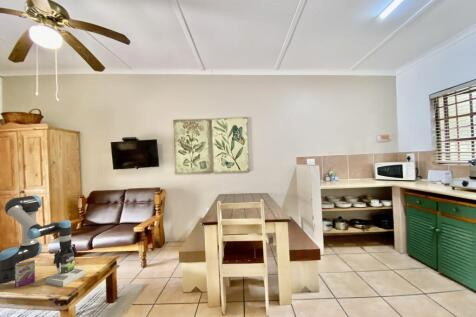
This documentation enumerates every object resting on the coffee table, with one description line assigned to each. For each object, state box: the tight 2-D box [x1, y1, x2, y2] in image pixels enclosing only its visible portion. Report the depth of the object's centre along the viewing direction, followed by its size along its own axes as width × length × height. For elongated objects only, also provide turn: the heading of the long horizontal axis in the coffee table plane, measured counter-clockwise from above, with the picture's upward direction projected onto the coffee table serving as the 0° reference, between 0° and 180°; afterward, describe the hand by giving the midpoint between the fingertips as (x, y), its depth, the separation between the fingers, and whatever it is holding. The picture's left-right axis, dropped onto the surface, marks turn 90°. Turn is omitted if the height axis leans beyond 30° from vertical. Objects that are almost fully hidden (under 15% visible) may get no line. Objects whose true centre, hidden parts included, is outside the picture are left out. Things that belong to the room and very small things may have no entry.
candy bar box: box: [14, 259, 36, 288], centre depth 174 cm, size 11×5×16 cm, turn 131°
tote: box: [45, 267, 87, 287], centre depth 180 cm, size 18×18×4 cm
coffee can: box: [57, 251, 75, 275], centre depth 180 cm, size 10×10×14 cm
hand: (66, 268), depth 180 cm, fingers closed on coffee can, 10 cm apart
